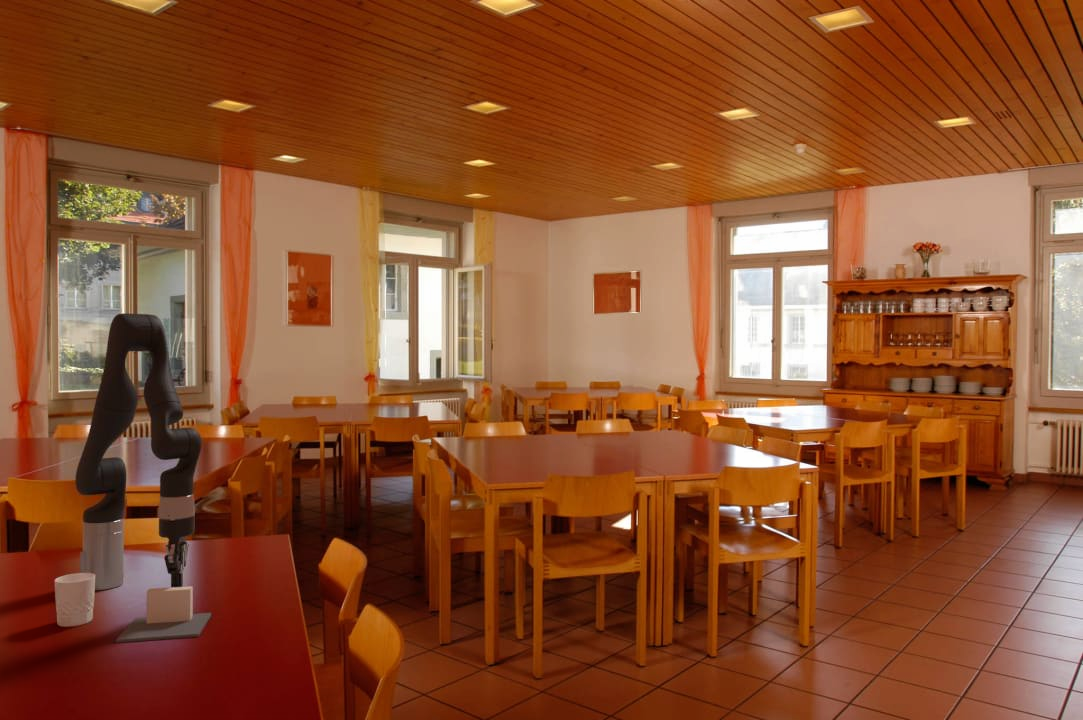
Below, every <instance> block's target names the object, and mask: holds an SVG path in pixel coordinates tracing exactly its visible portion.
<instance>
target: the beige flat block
mask: <svg viewBox="0 0 1083 720" xmlns="http://www.w3.org/2000/svg"><path fill="white" fill-rule="evenodd" d="M193 592H194V589H193V586H191V585H190V586H183V587H172V588H171V587H160V588H159V587H157V588H149V589H148V590H147V591H146V617H147V624H148V623H162V622H177V621H190V620H191V619H192V617H193V614H194V612H193V606H194V604H193V603H194V601H193V598H194V596H193V595H194V594H193Z"/></svg>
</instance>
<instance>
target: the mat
mask: <svg viewBox="0 0 1083 720" xmlns="http://www.w3.org/2000/svg"><path fill="white" fill-rule="evenodd" d="M211 617H212V612H201V613H200V612H199V613H193V617H192V619H191V620H190V621H177V622H162V623H148V624H147V616H144V617H143V616H142V617H135V618H134V619H133V620H132V621H131V622H130V624H129V625H128V626H127V627H125V629H124V630H123V631H122V632H121V634H119V636H118V637H117V638H116V639H115V643H117V644H118V643H130V642H131V643H132V642H142V641H143V642H144V641H145V642H146V641H156V640H157V641H158V640H171V639H183V638H197V637H199V636H200V635H201V633H202V632H203V630H204V628H205V627H206V625H207V623H208V622H209V619H210V618H211Z"/></svg>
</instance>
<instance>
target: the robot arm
mask: <svg viewBox="0 0 1083 720" xmlns="http://www.w3.org/2000/svg"><path fill="white" fill-rule="evenodd" d="M106 344H107V345H106V350H105V351H106V352H105V358H104V359H105V361H104V366H103V371H102V376H101V380H100V385H99V387H98V391H97V395H96V398H95V402H94V403H95V404H94V406H93V407H94V408H93V411H92V417H91V422H90V426H89V431H88V435H87V438H86V441H85V444H84V447H83V450H82V453H81V456H80V458H79V462H78V465H77V468H76V472H75V480H74V481H75V482H74V483H75V488H76V491H77V492H78V493H79V494H80V495H82V496H96V495H98V496H99V495H103V494H105V495H104V497H103V498H102V499H101V500H100V501H98V502H96V504H94V505H92V506H90V507H88V508H86V509H85V510H84V511H83V512H82V513H83V514H82V550H81V552H80V553H79V573H92V574H95V591H102V590H109V589H114V588H116V587H120V586H122V585H123V584H124V575H125V574H124V565H125V564H124V560H125V559H124V554H125V553H124V551H125V550H124V540H125V539H124V538H125V537H124V534H125V533H124V529H125V528H124V525H125V524H124V523H125V522H124V518H125V517H124V516H125V515H124V511H125V507H126V493H127V492H126V490H127V468H126V464H125V462H124V460H123V459H122V458H120V457H117V456H114V457H112V456H111V457H104V455H105V454H106V453H107V450H108V449H109V448H110V447H111V446H112V445H113V444H114V443H115V442H116V441H117V440H118V439H119V438H120V437H121V436H122V435H123V434H124V433H126V431H127V430H128V429H129V428H130V426H131V425H132V424H133V422H134V420H135V416H136V410H137V408H138V403H139V394H138V390H137V389H136V386H135V384H134V383H133V381H132V379H131V377H130V375H129V372H128V371H127V368H126V367H127V366H126V362H127V356H128V353H129V352H148V354H149V355H150V359H151V367H150V370H149V373H148V376H147V378H146V381H145V382H144V386H143V399H144V402H145V405H146V408H147V412H148V414H149V418H150V428H151V429H150V431H151V434H150V435H151V438H150V448H151V451H152V454H153V455H154V456H155V458H157V459H159V460H161V461H168V460H178V459H179V460H178V462H177V464H176V465H175V466H174V467H171V468H169V469H166V470H164V471H163V472H161V473H160V476H159V477H160V478H159V501H158V536H159V537H160V538H164V539H168V542H167V544H166V545H165V553H166V554H165V555H164V558H163V559H164V561H165V566H166V571H167V574H169V575H170V588H172V587H184V585H183V584H184V581H183V580H184V579H183V578H184V577H183V574H184V571H185V568H186V566H187V558H188V557H187V556H188V551H189V547H190V545H189V542H188V541H186V540H187V539H186V538H187V537H189V536H191V535H194V534H195V531H196V530H195V529H196V527H195V525H196V523H195V520H196V518H195V516H196V515H195V512H196V511H195V509H196V508H195V507H196V506H195V497H194V495H195V494H194V477H195V473H196V468H197V464H198V461H199V458H200V454H201V450H202V446H203V441H202V440H203V439H202V436H201V434H200V432H199V431H198V430H197V428H193V427H181V428H180V427H178V428H169V426H171V425H175V424H176V423H178V422H180V421H182V418H183V416H184V410H183V407H182V404H181V401H180V398H179V395H178V392H177V389H176V387H175V383H174V379H173V373H172V367H171V361H170V360H171V359H170V352H169V348H168V342H167V335H166V331H165V327H164V325H163V323H162V319H160V317H158V316H157V315H155V314H149V313H128V312H127V313H118V314H116V315H115V316H113V319H112V321H111V324H110V326H109V332H108V338H107V343H106Z"/></svg>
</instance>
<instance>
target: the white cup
mask: <svg viewBox="0 0 1083 720" xmlns="http://www.w3.org/2000/svg"><path fill="white" fill-rule="evenodd" d="M95 591H96V590H95V574H92V573H80V572H78V573H71V574H65V575H62V576H59V577H56V578H54V594H55V595H54V598H55V609H56V620H57V621H56V624H57V626H59V627H64V628H70V627H77V626H82V625H86V624H88V623H90V622H92V620H93V617H94V606H95V596H96V595H95V594H96V593H95Z"/></svg>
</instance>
